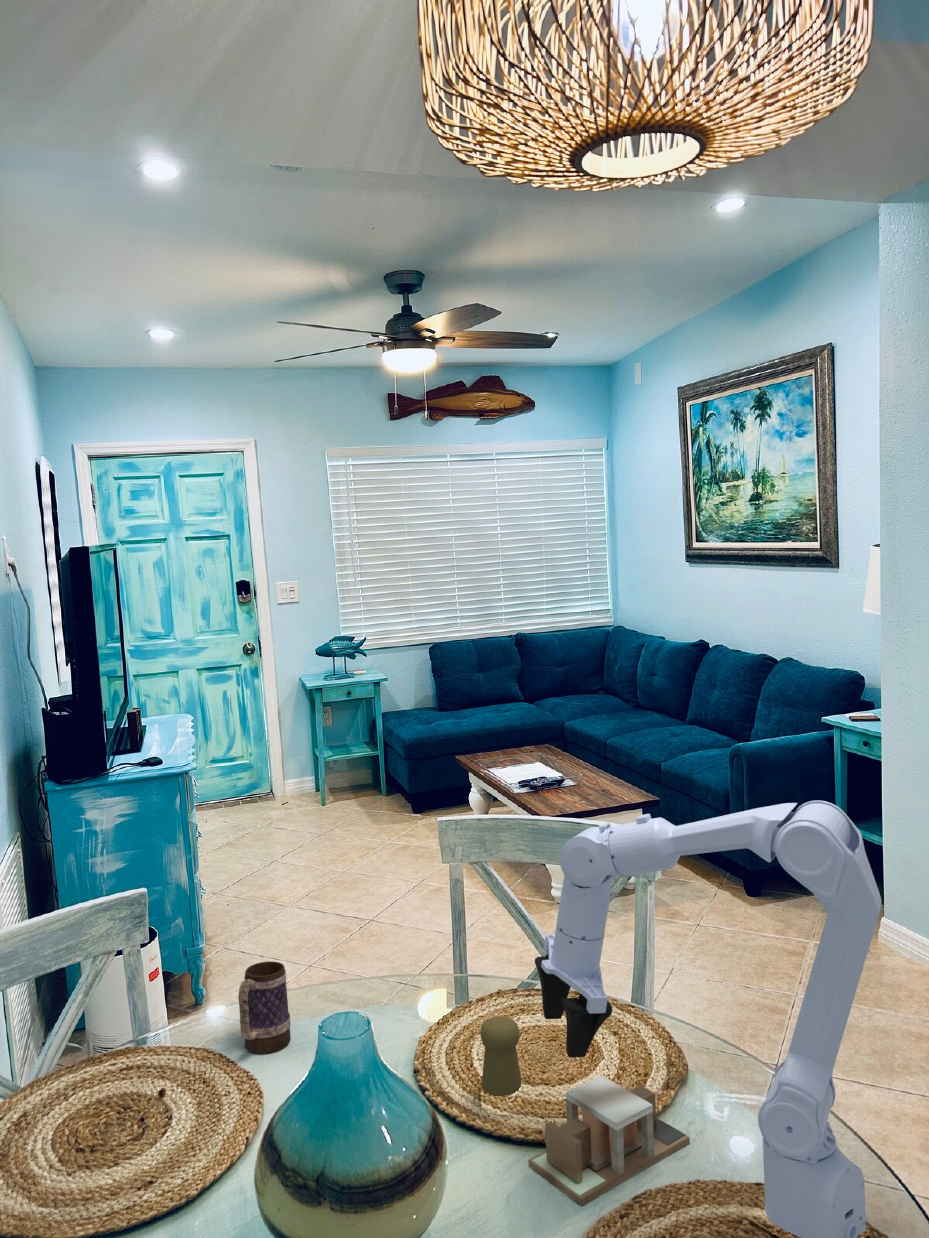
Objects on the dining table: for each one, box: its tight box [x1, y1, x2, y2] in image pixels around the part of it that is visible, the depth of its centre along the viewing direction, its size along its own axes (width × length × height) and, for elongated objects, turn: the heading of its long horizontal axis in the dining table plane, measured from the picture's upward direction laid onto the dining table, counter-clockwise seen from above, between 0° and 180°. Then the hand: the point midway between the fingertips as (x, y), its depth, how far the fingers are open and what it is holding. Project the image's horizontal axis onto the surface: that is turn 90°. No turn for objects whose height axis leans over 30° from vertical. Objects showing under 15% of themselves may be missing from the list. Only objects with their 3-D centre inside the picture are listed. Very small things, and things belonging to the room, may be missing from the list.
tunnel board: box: [528, 1075, 691, 1207], centre depth 106 cm, size 9×18×7 cm, turn 126°
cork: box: [479, 1015, 523, 1097], centre depth 118 cm, size 6×6×11 cm
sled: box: [545, 1085, 657, 1183], centre depth 106 cm, size 5×15×5 cm, turn 126°
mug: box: [237, 960, 292, 1055], centre depth 135 cm, size 10×7×12 cm
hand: (563, 1035), depth 107 cm, fingers open, 7 cm apart
